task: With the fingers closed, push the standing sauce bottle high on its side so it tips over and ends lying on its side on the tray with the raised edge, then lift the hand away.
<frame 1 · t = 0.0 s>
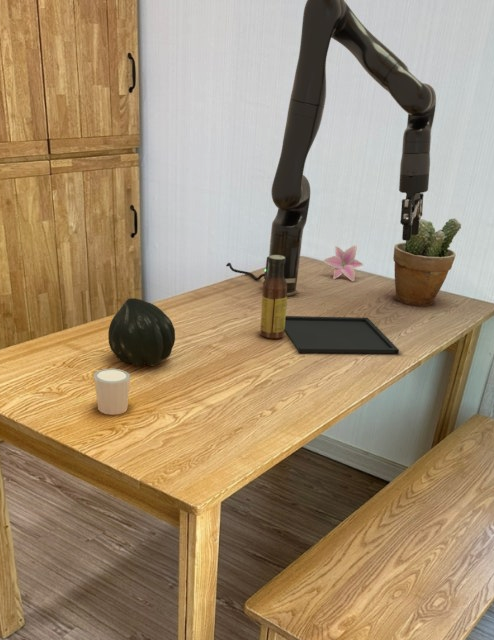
hand: (410, 237, 189), 22 cm above the table, tool pointing down, fingers open, 8 cm apart
squash: (142, 361, 158), on the table
sauce bottle: (271, 336, 180), on the table
lily: (341, 277, 233), on the table
potted plant: (413, 301, 218), on the table
white cup: (112, 409, 137), on the table
tray: (335, 336, 183), on the table
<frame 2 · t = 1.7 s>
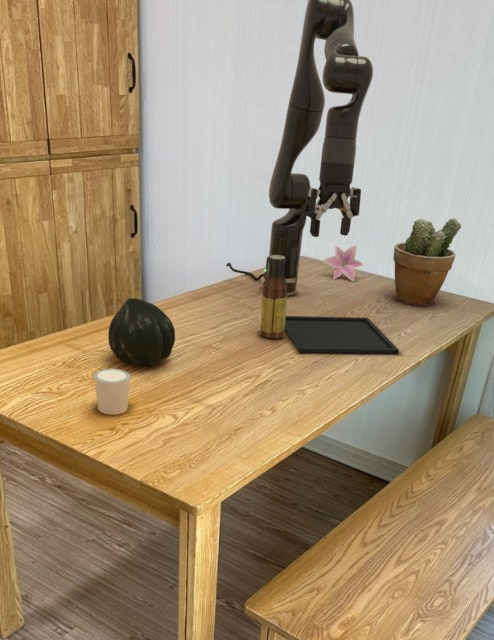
hand: (329, 235, 164), 26 cm above the table, tool pointing down, fingers open, 8 cm apart
nothing on the table moved.
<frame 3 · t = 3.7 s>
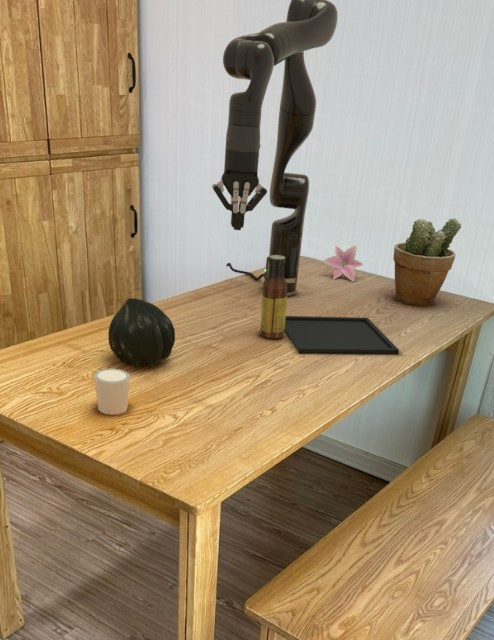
hand: (236, 229, 163), 26 cm above the table, tool pointing down, fingers closed
nothing on the table moved.
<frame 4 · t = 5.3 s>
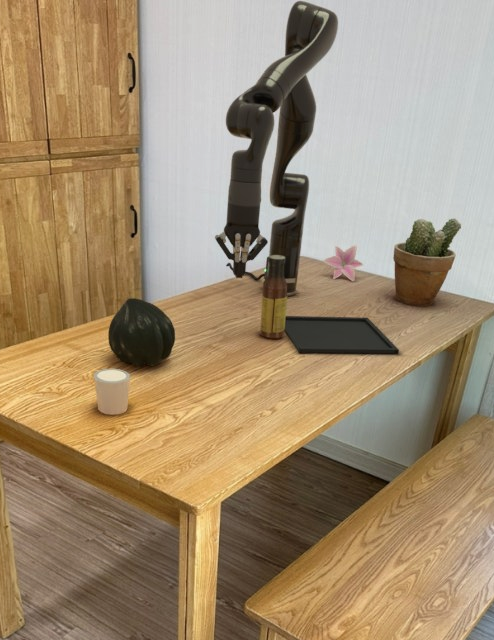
hand: (238, 277, 169), 15 cm above the table, tool pointing down, fingers closed
nothing on the table moved.
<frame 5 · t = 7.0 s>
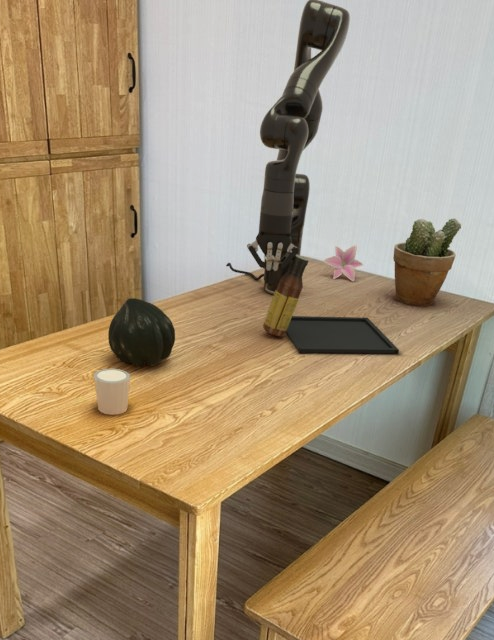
hand: (269, 284, 172), 13 cm above the table, tool pointing down, fingers closed
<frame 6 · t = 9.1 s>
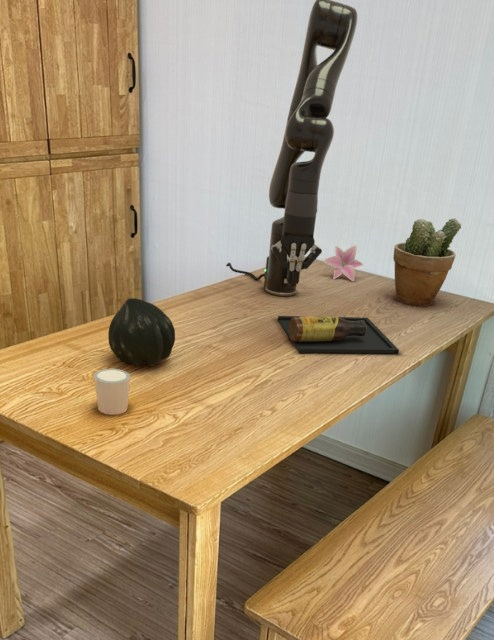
hand: (292, 285, 173), 13 cm above the table, tool pointing down, fingers closed
sauce bottle: (291, 329, 174), point 4 cm above the table, touching tray
everything else where it was.
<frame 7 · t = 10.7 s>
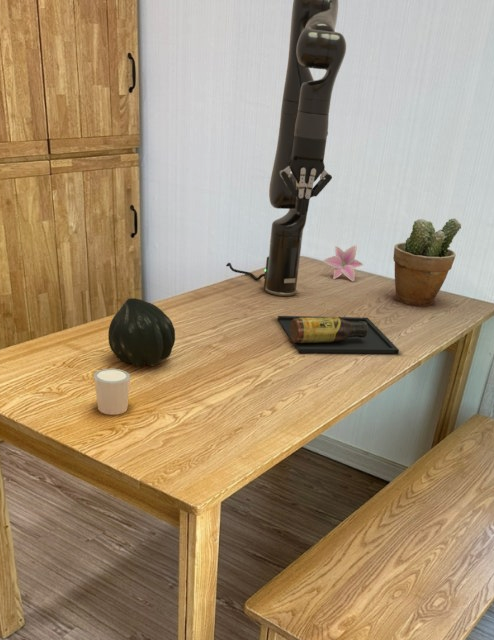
hand: (300, 214, 169), 29 cm above the table, tool pointing down, fingers closed
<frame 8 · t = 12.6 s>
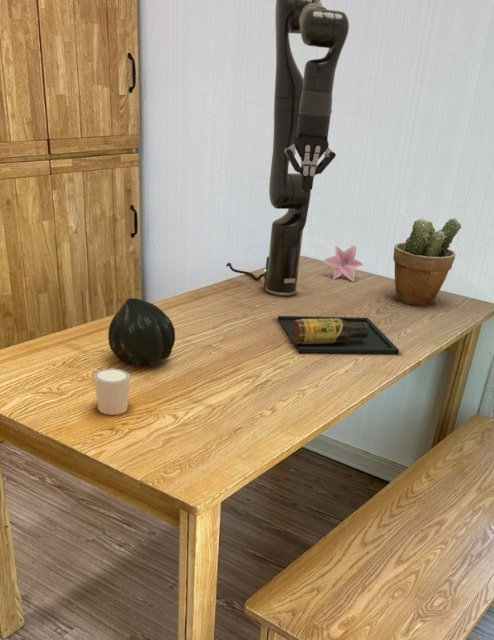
hand: (305, 191, 173), 33 cm above the table, tool pointing down, fingers closed
at the end: sauce bottle tilted 89°; sauce bottle touching tray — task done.
